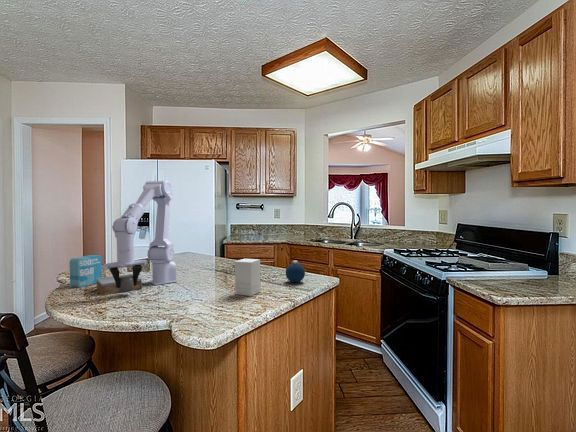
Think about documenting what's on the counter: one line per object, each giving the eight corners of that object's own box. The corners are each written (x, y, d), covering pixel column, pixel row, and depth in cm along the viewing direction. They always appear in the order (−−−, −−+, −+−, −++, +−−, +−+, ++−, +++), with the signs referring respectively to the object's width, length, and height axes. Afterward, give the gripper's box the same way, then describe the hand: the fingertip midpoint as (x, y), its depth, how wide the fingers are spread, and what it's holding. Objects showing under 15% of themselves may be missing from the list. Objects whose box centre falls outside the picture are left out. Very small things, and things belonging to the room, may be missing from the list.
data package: (78, 288, 138) (77, 259, 137) (69, 287, 139) (68, 258, 139) (102, 281, 149) (101, 254, 149) (94, 281, 150) (93, 254, 150)
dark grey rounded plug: (132, 287, 130) (131, 274, 130) (135, 290, 126) (135, 277, 125) (117, 290, 126) (117, 276, 126) (120, 292, 122) (120, 279, 122)
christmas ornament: (294, 279, 151) (294, 257, 151) (309, 282, 146) (309, 259, 145) (281, 282, 145) (281, 259, 145) (295, 285, 140) (295, 261, 139)
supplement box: (261, 291, 130) (261, 259, 130) (251, 296, 124) (251, 262, 123) (245, 289, 133) (244, 258, 133) (234, 294, 127) (234, 260, 126)
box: (133, 283, 144) (133, 276, 144) (141, 289, 135) (141, 280, 135) (96, 289, 136) (96, 280, 136) (102, 295, 126) (102, 286, 126)
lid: (133, 275, 144) (133, 273, 144) (141, 280, 135) (141, 278, 135) (96, 280, 136) (96, 278, 136) (102, 286, 126) (102, 284, 126)
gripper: (105, 253, 118) (106, 291, 118) (148, 249, 127) (149, 285, 127) (102, 251, 123) (103, 287, 124) (143, 247, 132) (144, 282, 133)
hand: (126, 286), depth 126 cm, fingers closed on dark grey rounded plug, 5 cm apart
